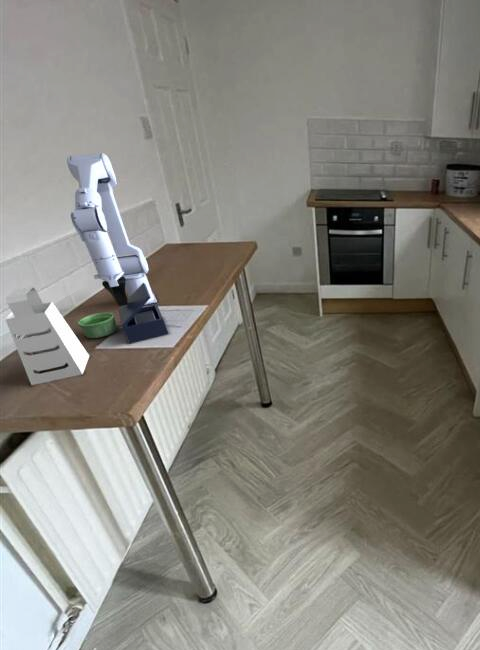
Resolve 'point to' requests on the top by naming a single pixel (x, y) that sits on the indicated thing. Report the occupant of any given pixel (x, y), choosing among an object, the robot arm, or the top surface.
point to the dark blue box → (146, 326)
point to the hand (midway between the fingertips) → (123, 304)
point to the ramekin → (98, 325)
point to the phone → (144, 317)
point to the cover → (134, 304)
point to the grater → (43, 338)
